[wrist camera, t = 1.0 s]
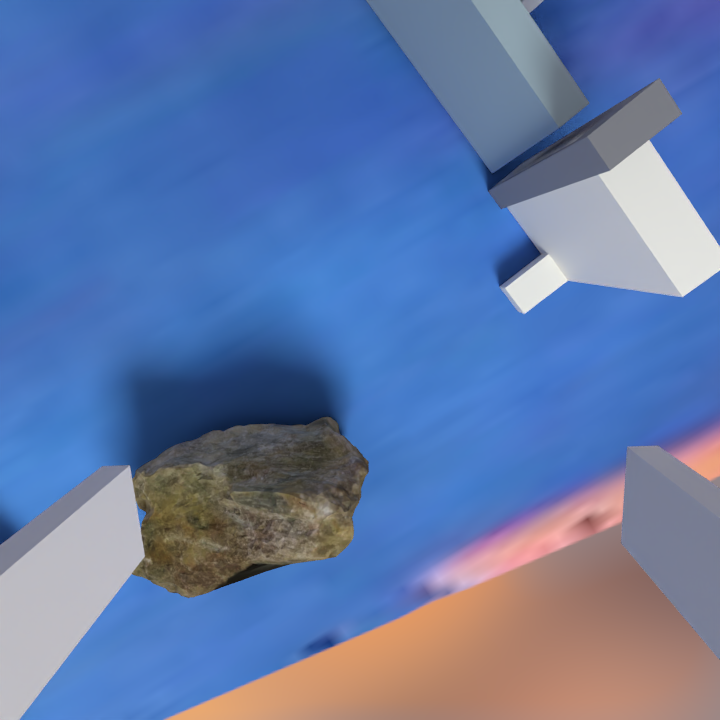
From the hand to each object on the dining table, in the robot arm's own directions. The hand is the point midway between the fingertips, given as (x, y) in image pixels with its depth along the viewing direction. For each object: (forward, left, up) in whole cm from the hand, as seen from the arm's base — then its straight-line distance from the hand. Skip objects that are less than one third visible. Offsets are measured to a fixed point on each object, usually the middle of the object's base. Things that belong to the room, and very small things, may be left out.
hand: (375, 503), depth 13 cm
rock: (+2, -14, -26) cm, 30 cm away
